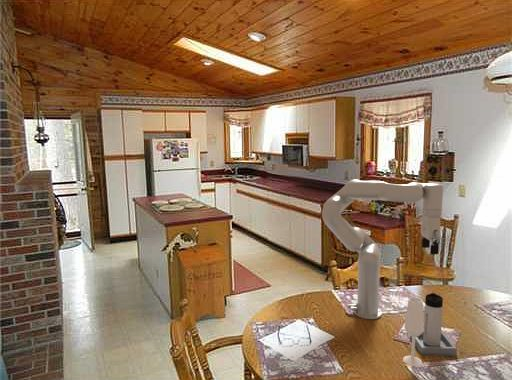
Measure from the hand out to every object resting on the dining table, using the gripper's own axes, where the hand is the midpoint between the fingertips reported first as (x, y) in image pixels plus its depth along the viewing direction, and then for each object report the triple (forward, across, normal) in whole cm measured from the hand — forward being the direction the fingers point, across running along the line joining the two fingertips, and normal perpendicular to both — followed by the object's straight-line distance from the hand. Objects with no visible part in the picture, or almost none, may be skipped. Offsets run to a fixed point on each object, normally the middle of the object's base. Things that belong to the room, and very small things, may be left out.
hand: (429, 250), depth 168 cm
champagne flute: (+34, +30, -16) cm, 48 cm away
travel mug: (+33, +20, -5) cm, 39 cm away
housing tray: (+33, +20, -5) cm, 39 cm away
